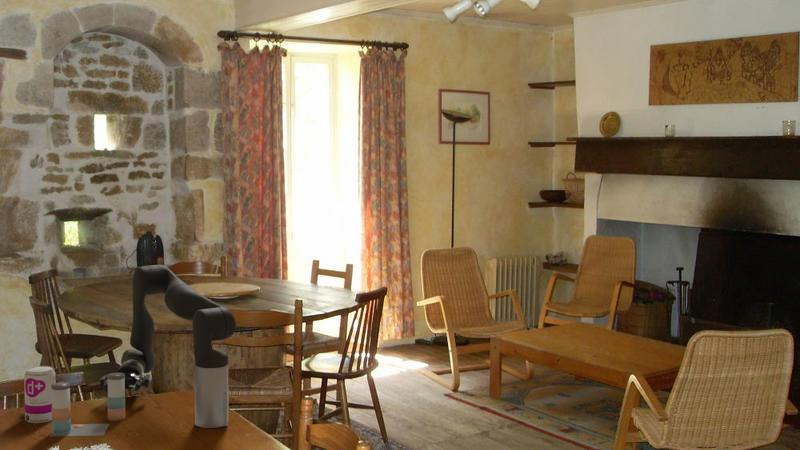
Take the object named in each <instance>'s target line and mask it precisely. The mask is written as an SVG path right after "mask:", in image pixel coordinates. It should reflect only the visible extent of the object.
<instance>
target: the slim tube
mask: <svg viewBox="0 0 800 450" xmlns="http://www.w3.org/2000/svg"><path fill="white" fill-rule="evenodd" d="M106 375H107V378H108V391H107V420H108V421H111V422H113V421H114V422H118V421H123V420H125V419H126V394H125V393H126V392H125V390H126V389H125V374H124V373H117V372H111V373H108V374H106Z"/></svg>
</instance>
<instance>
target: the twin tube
mask: <svg viewBox="0 0 800 450" xmlns="http://www.w3.org/2000/svg"><path fill="white" fill-rule="evenodd" d="M58 382H59V381H58ZM51 388H52V420H51V433H52V434H53V435H66V434H69V433H70V430H71V423H72V422H71V421H72V418H71V410H72V409H71V406H72V405H71V383H70V382H63V381H60V382H59V383H54V384H52V385H51Z"/></svg>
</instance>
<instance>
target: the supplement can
mask: <svg viewBox="0 0 800 450" xmlns="http://www.w3.org/2000/svg"><path fill="white" fill-rule="evenodd" d="M53 368H54V367H53V366H48V365H37V366H36V365H35V366H31V367H28V368H26V371H25V373H24V375H23V377H24V380H23V381H24V382H23V383H24V385H23V387H24V420H25V421H26V422H27V423H32V424H40V423H41V424H42V423H48V422H52V388H51V385H52V384H54V383H56V376H55V371H54V369H53Z"/></svg>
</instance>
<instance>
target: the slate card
mask: <svg viewBox="0 0 800 450" xmlns="http://www.w3.org/2000/svg"><path fill="white" fill-rule="evenodd" d="M109 426H110V423H84V424H83V423H81V424H79V423H75V424H71V430H70V433H69V434H66V435H53V434H52V432H51V433H50V434H49V435H48V436H49V437H52V438H53V437H84V436H85V437H87V436H88V437H89V436H90V437H91V436H93V437H94V436H99V437H100V436H104V435H105V433H106V432H107V429H108V428H109Z"/></svg>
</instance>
